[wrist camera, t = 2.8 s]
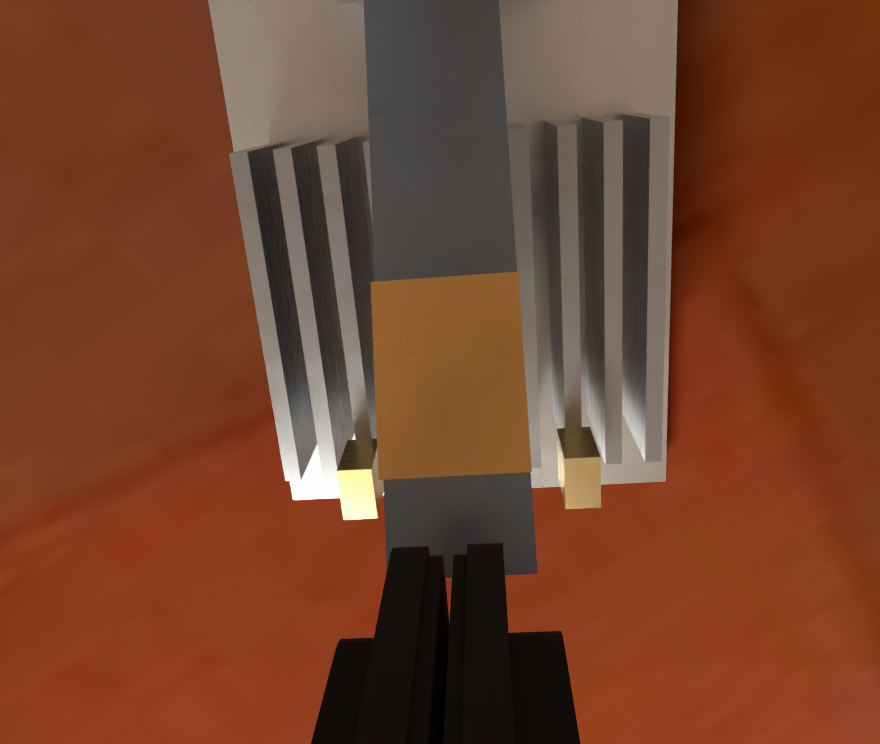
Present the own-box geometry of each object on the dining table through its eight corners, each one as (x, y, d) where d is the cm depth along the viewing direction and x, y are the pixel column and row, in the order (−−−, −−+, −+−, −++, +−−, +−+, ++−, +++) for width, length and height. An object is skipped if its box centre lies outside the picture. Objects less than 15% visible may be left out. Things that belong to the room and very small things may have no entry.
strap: (370, -89, 19) (351, -170, 17) (488, -102, 19) (487, -185, 16) (398, 569, 17) (382, 585, 14) (533, 563, 17) (538, 578, 14)
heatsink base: (204, -95, 23) (89, -174, 16) (671, -145, 22) (760, -252, 15) (299, 484, 30) (248, 601, 23) (658, 465, 29) (715, 582, 22)
